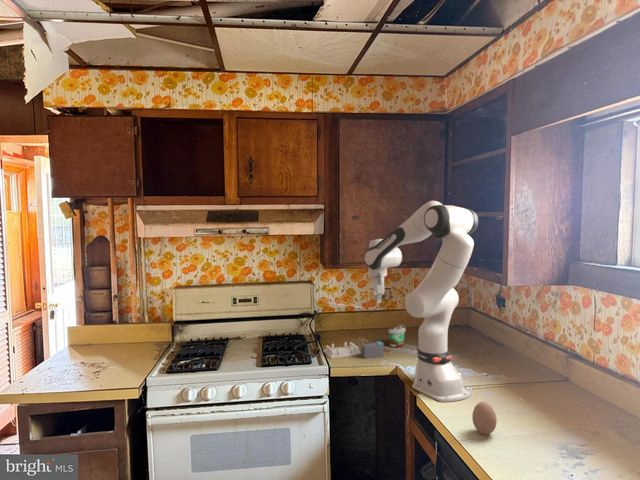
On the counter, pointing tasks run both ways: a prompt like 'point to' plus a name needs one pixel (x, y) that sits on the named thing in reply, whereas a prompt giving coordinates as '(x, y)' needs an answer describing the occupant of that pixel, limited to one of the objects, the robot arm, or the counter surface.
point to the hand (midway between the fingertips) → (377, 300)
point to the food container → (397, 336)
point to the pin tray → (342, 351)
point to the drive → (372, 350)
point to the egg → (484, 418)
